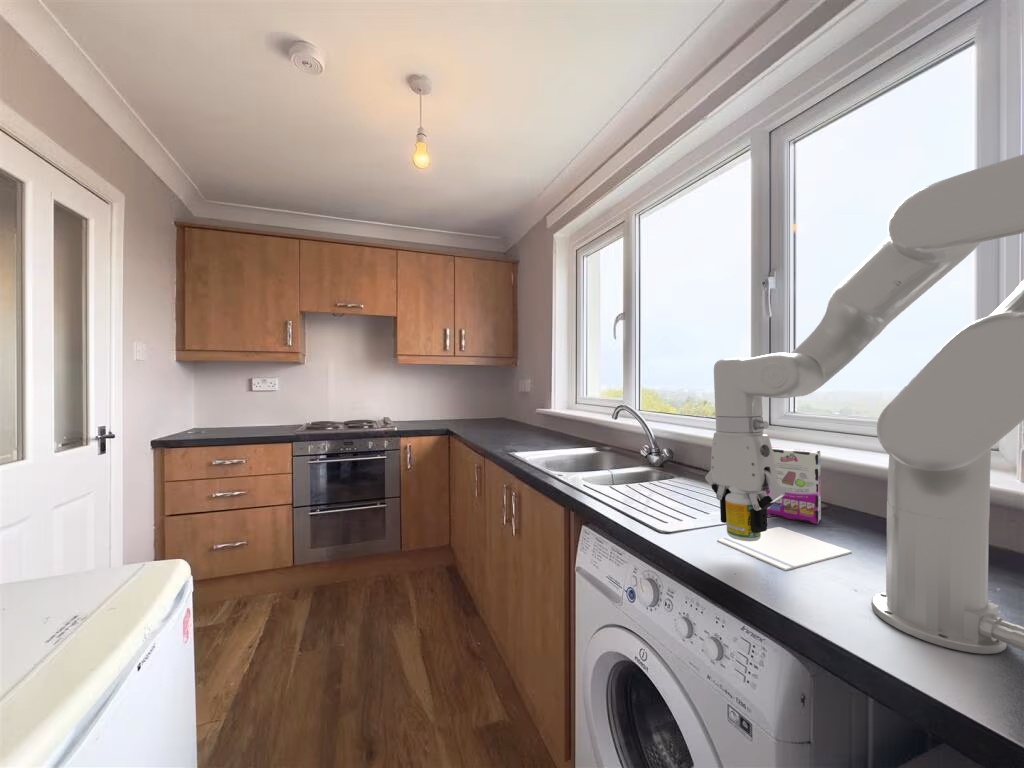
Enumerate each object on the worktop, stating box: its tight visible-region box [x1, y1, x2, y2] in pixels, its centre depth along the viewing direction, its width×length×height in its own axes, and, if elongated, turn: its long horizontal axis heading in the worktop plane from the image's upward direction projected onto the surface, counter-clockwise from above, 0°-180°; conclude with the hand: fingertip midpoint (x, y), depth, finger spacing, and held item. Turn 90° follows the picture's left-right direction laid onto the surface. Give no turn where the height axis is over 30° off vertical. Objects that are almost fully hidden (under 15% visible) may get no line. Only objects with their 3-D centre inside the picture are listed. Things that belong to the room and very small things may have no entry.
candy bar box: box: [765, 446, 822, 525], centre depth 98 cm, size 11×5×16 cm, turn 47°
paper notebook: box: [716, 526, 853, 572], centre depth 81 cm, size 14×19×1 cm
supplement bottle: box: [725, 486, 761, 541], centre depth 74 cm, size 5×5×10 cm
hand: (743, 525), depth 73 cm, fingers closed on supplement bottle, 5 cm apart
